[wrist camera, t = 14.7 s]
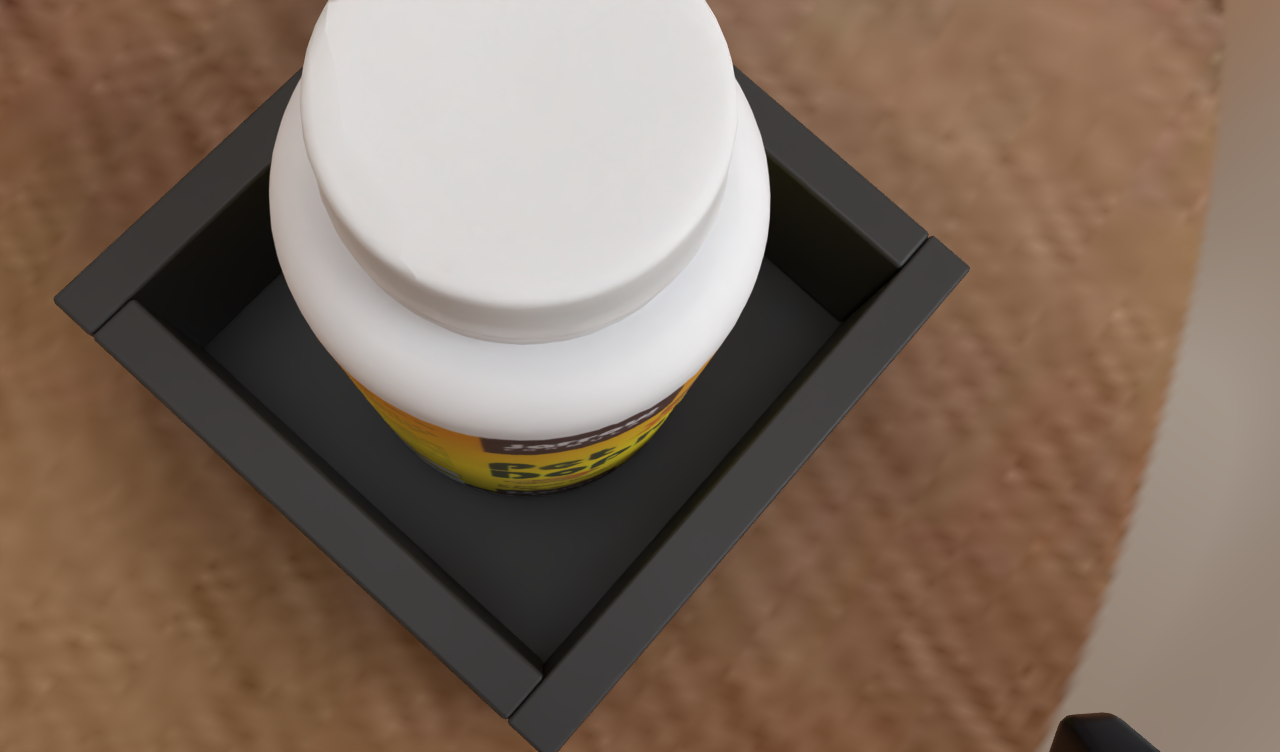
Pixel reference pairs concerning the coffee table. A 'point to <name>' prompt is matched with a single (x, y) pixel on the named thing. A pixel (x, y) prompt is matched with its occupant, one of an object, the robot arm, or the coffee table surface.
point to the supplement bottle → (520, 222)
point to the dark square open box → (499, 524)
